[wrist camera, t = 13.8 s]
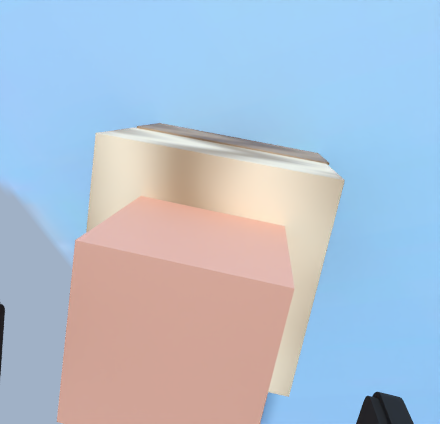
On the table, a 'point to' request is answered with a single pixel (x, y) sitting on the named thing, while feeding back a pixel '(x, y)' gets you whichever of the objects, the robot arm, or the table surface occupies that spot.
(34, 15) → the table surface
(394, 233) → the table surface
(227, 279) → the terracotta cube
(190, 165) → the maple top block
